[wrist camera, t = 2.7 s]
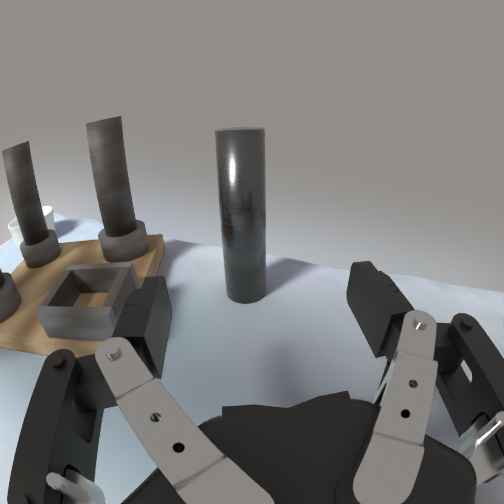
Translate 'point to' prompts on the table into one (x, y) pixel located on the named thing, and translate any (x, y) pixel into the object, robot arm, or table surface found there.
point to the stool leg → (242, 210)
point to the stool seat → (74, 257)
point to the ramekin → (16, 230)
